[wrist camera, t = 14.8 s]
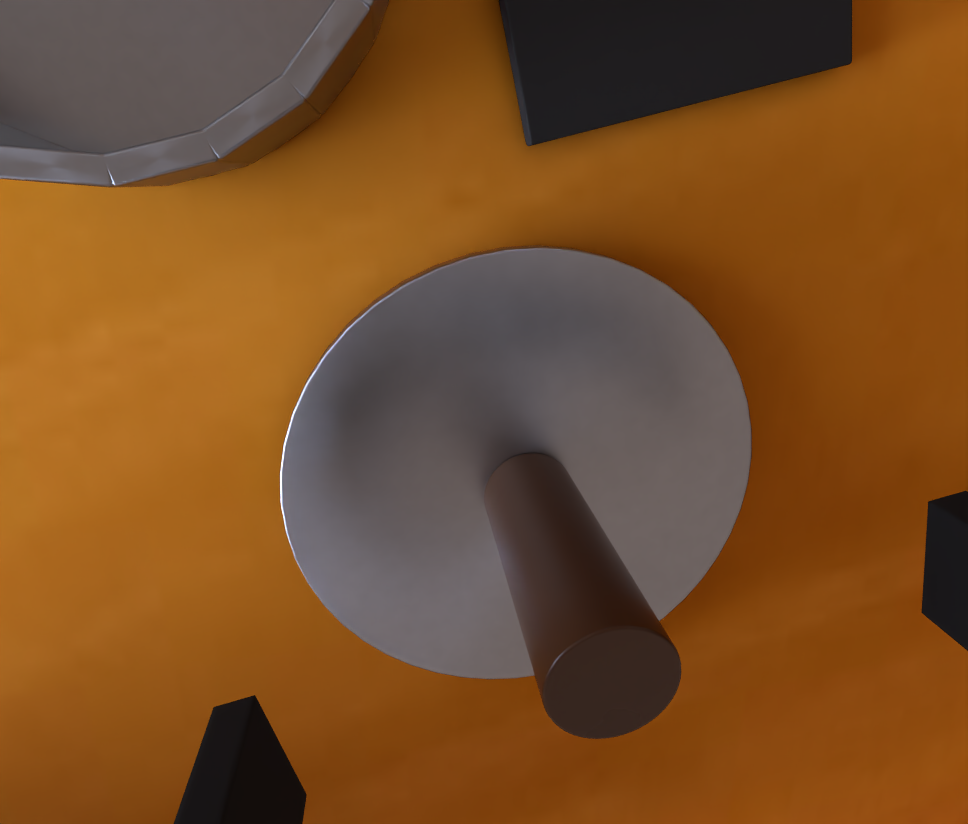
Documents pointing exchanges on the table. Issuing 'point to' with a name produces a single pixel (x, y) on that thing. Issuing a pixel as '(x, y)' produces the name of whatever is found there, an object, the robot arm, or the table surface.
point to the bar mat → (659, 54)
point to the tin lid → (521, 476)
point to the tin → (167, 83)
